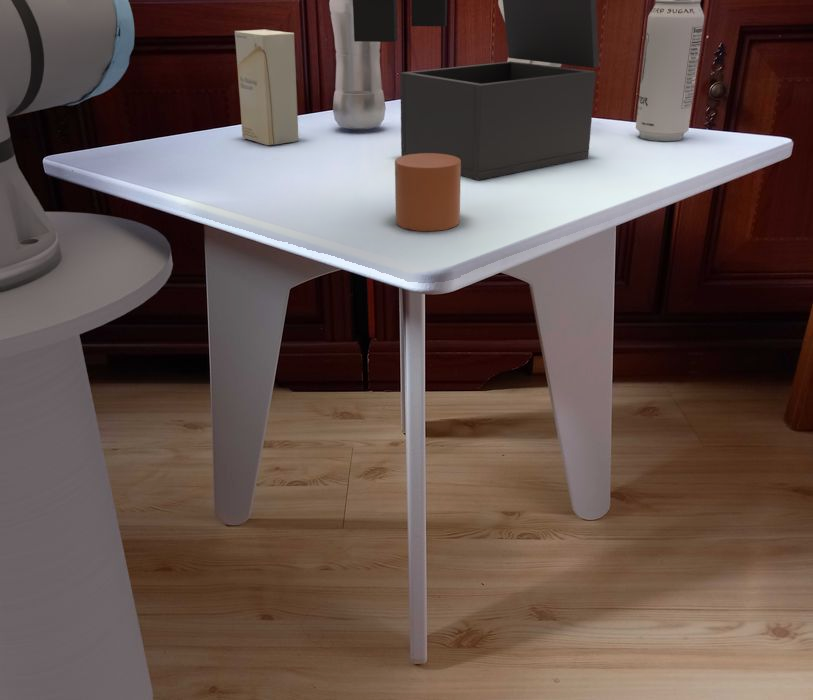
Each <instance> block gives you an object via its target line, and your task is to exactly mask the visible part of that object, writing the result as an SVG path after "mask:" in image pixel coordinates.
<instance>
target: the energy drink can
mask: <svg viewBox="0 0 813 700" xmlns="http://www.w3.org/2000/svg"><path fill="white" fill-rule="evenodd" d="M701 2H702V0H655V4H654V6H653V8H652V9H651V11H650V12H649V14H648V17H647V22H646V32H645V42H644V49H643V57H642V59H643V60H642V67H641V77H640V87H639V94H638V104H637V112H636V122H635V129H636V130H637V131H638V132H639V133H638V134H639V137H640V138H641V139H643V140H647V141H648V140H649V141H654V142H655V141H657V142H674V141H680V140H682V139H683V137H684V135H685V134H686V133H688V132H689V129H690V122H691V114H692V107H693V100H694V94H695V86H696V81H697V79H696V78H697V73H698V65H699V59H700V50H701V45H702V43H701V42H702V37H703V30H704V22H705V14H704V11H703V9H702V7H701Z"/></svg>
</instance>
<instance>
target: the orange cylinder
mask: <svg viewBox="0 0 813 700" xmlns="http://www.w3.org/2000/svg"><path fill="white" fill-rule="evenodd" d="M461 177H462V175H461V160H460V159H459V158H458V157H455V156H452V155H447V154H437V153H419V154H410V155H405V156H401V155H400V156H398V157H397V158H396V159H394V189H395V190H394V191H395V193H394V194H395V197H394V199H395V224H396V225H397V226H399V227H400V228H402V229H407V230H410V231H415V232H416V231H417V232H437V231H438V232H439V231H446V230H450V229H453V228H455V227H457V226H459V225H460V221H461Z"/></svg>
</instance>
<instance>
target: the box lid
mask: <svg viewBox="0 0 813 700" xmlns="http://www.w3.org/2000/svg"><path fill="white" fill-rule="evenodd" d="M503 8H504V18H505V21H504V26H505V27H504V28H505V35H506V36H505V37H506V47H507V54H508V55H507V56H508V57H509V58H514V59H522V60H531V61H539V62H548V63H556V64H562V65H566V66H573V67H584V68H591V69H594V68H597V67H599V66H600V58H599V37H598V18H597V17H598V16H597V15H598V14H597V13H598V12H597V0H503Z"/></svg>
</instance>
